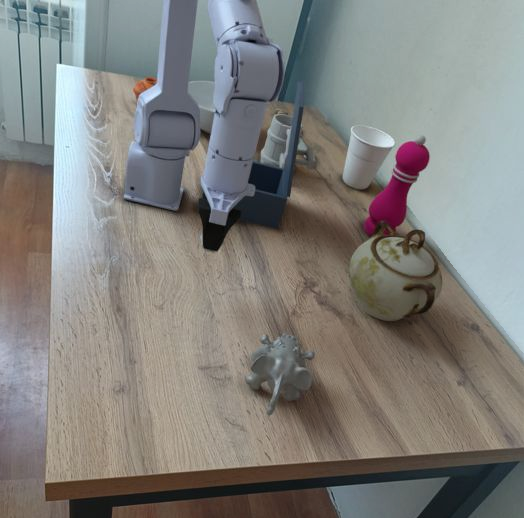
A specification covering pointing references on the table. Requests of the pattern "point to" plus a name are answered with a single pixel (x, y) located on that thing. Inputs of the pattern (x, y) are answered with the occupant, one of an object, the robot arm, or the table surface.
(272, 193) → the compartment
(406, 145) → the pepper mill
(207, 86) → the cereal bowl
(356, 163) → the cup
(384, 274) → the sugar bowl
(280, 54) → the robot arm
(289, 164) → the lid
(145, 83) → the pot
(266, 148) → the mug
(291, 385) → the elephant statuette
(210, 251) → the game die
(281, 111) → the knife
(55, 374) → the table surface
